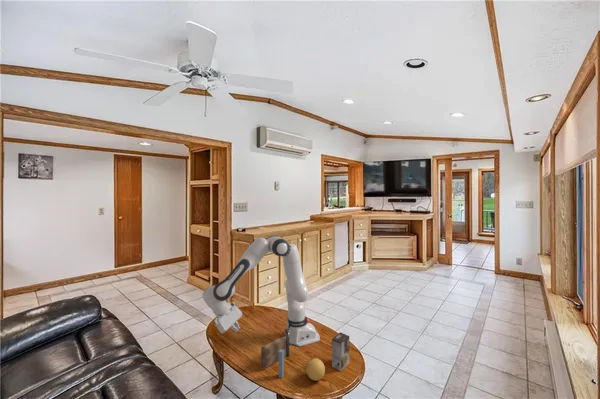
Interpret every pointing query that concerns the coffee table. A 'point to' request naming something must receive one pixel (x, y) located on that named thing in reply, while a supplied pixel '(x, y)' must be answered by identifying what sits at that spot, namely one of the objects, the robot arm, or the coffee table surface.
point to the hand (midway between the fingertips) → (238, 330)
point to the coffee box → (340, 351)
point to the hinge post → (287, 341)
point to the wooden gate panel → (272, 352)
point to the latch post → (281, 363)
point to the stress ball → (315, 369)
